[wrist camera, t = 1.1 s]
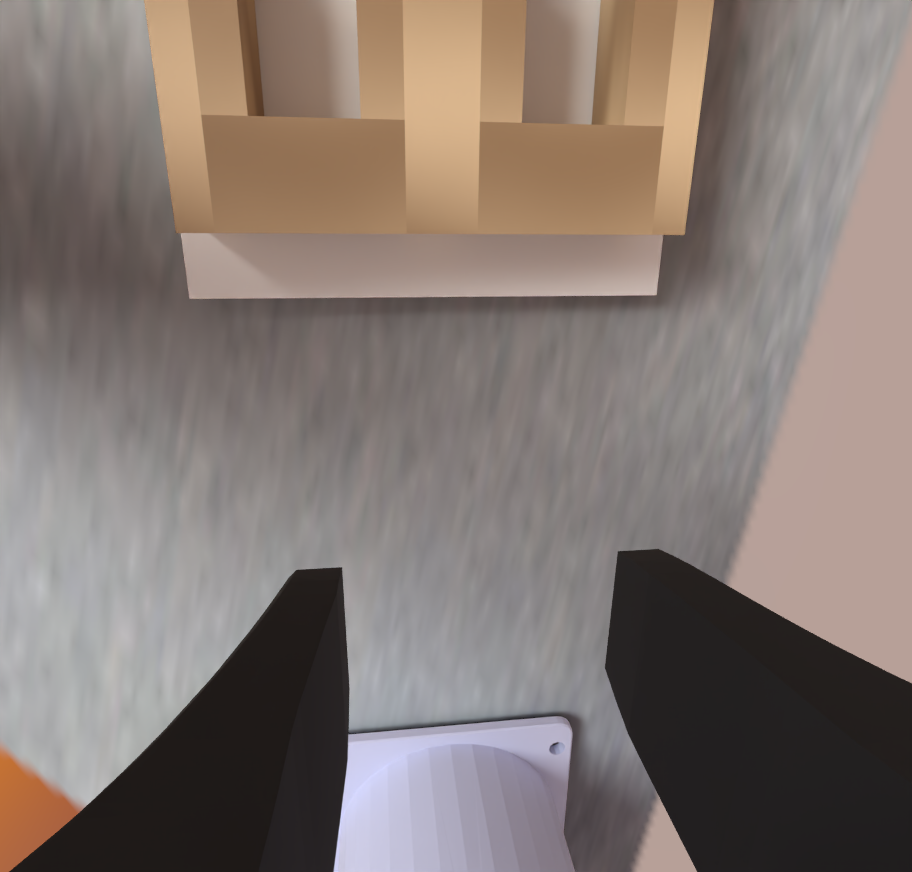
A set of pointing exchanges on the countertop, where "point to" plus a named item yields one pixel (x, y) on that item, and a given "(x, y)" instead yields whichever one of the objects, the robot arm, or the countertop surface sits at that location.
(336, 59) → the mounting plate
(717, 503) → the countertop surface
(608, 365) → the countertop surface
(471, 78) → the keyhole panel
